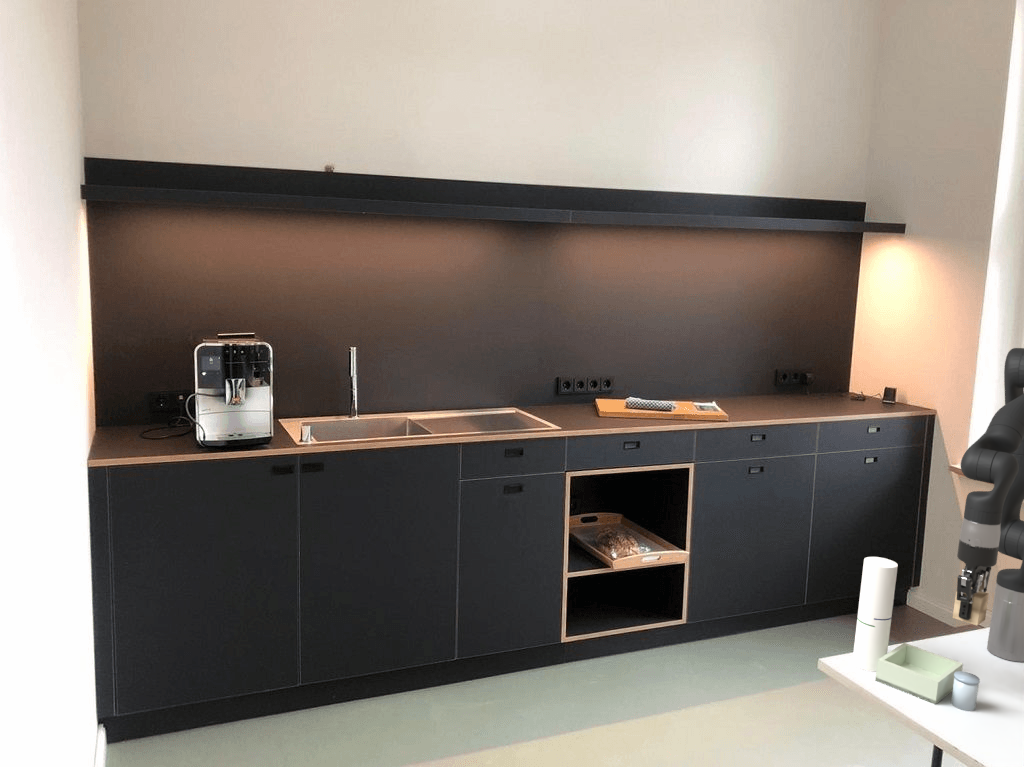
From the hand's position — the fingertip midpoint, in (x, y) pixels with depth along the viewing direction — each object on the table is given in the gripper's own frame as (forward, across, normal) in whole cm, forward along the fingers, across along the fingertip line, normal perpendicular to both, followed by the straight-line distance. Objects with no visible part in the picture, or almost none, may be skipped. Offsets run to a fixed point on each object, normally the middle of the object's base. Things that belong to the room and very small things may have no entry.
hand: (968, 615), depth 186 cm
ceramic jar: (+18, +6, +3) cm, 19 cm away
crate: (+18, +4, -7) cm, 19 cm away
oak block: (+1, 0, 0) cm, 1 cm away
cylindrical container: (+18, +4, -18) cm, 26 cm away
